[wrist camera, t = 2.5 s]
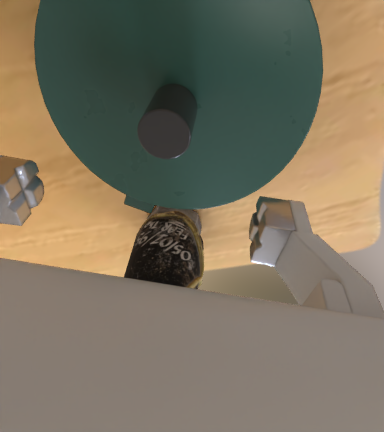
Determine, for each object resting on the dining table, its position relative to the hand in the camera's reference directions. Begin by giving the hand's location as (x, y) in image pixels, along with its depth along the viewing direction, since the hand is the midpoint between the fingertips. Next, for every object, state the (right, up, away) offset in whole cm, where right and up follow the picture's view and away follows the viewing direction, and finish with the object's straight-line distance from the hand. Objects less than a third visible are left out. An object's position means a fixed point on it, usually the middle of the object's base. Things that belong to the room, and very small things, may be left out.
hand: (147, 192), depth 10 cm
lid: (+1, +6, +6) cm, 8 cm away
